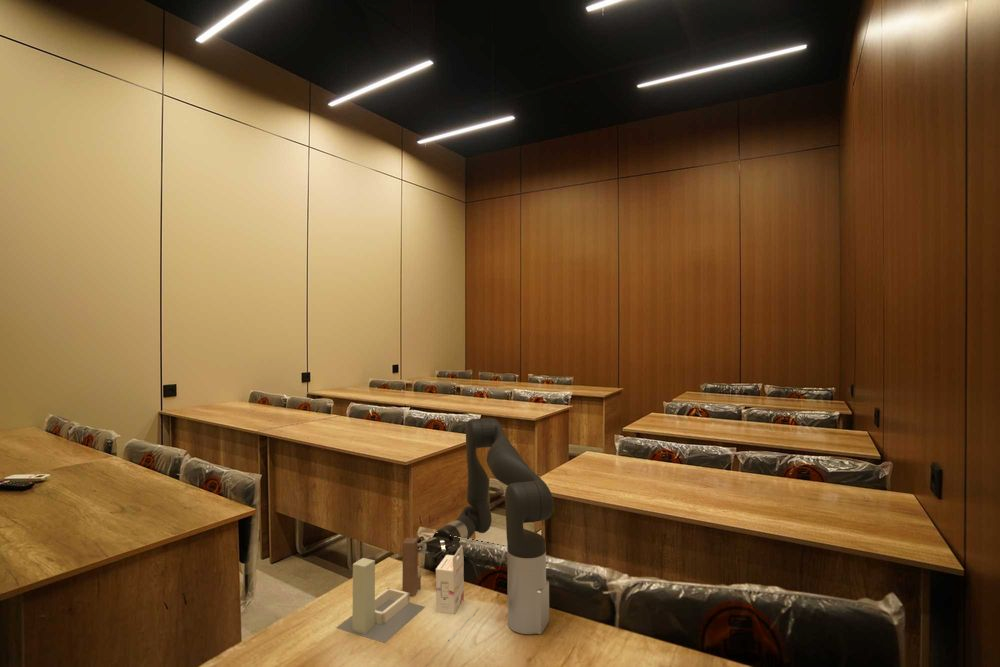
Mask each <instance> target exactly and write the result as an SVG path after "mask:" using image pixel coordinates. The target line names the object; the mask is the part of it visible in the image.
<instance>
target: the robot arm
mask: <svg viewBox="0 0 1000 667" xmlns="http://www.w3.org/2000/svg"><path fill="white" fill-rule="evenodd" d="M465 446H466V447H465V448H466V450H465V451H466V463H467V466H466V468H467V491H466V493H467V494H466V502H467V503H468V505H469V506H465V507H464V508H463V509H462V510H461V512H460V514H459V515H458V517H457V518H456V519H454V520H452V521H450V522H448V523H446V524H445V525H444V526H441V527H440V528H439V529H437V530H436V531H435V532H434V534H433V535H432V537H431V538H428V539H425V536H422V535H421V536H419V537H416V538H417V539H418V554H422V555H425V554H430V553H431V554H434V555H433V556H432V564H433V565H437V564H440V563H441V561H442V560H443V559H444V557H445V556H446V555H455V554H456V552H457V551H458V549H459V548H460V547H461V546H460V543H459V541H460V538H458V537H461V538H467V540H469V539H470V538H471V537H472V536H473V535H474V533H475V532H477V533H479V534H485V533H487V532H488V531H489V529H490V528H491V526H492V511H491V507H490V503H489V488H490V482H489V481H490V480H489V477H488V474H487V472H486V470H485V468H484V467H483V465H482V464H481V461H480V460H479V458H478V454H477V449H480V448H481V449H482V448H488V451H487V454H486V464H487V466H488V468H489V470H490V472H491V473H492V475H493V476H494V478H495V479H496V480H498V482H500V483H501V484H503V485H506V489H505V493H504V504H505V506H504V509H505V510H504V511H505V523H506V525H505V526H506V527H505V528H506V541H507V542H506V544H507V545H506V546H507V549H506V550H507V554H506V555H507V557H506V558H507V625H508V627H509V628H510V629H511V630H512V631H514V632H515V633H517V634H522V635H534V634H535V635H536V634H537V635H542V634H543V632H544V630H545V629H546V627H547V626H548V624H549V623H550V581H549V580H547V544H546V539H545V537H544V536H543V535H542V534H540V533H538V532H536V531H531V530H529V529H525V528H524V524H526V523H534V522H541V521H546V520H547V519H550V517H552V515H553V513H554V510H555V504H554V503H555V502H554V497H553V495H552V492H551V489H550V488H549V487H548V485H547V483H546V482H545V481H544V480H543V479H542V478H541V477H540V476H539V475H538V474H536V473H535V471H534V470H533V469H531V467H530V466H529V465H528V464H527V463H526V462H525V460H524V459H523V456H521V454H520V453H519V452H518V450H517V449H516V448H515V447H514V445H513V444H512V443H511V441H510V440H509V438H508V437H507V435H506V433H505V431H504V429H503V427H502V425H501V423H500V422H499V421H498V420H497V419H496V418H494V417H491V418H490V417H489V418H488V417H487V418H486V417H485V418H473V419H469V420H468V421H467V423H466V428H465ZM436 532H438V533H436ZM450 535H451V536H450ZM454 536H457V537H454ZM425 545H426V549H425Z"/></svg>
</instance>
